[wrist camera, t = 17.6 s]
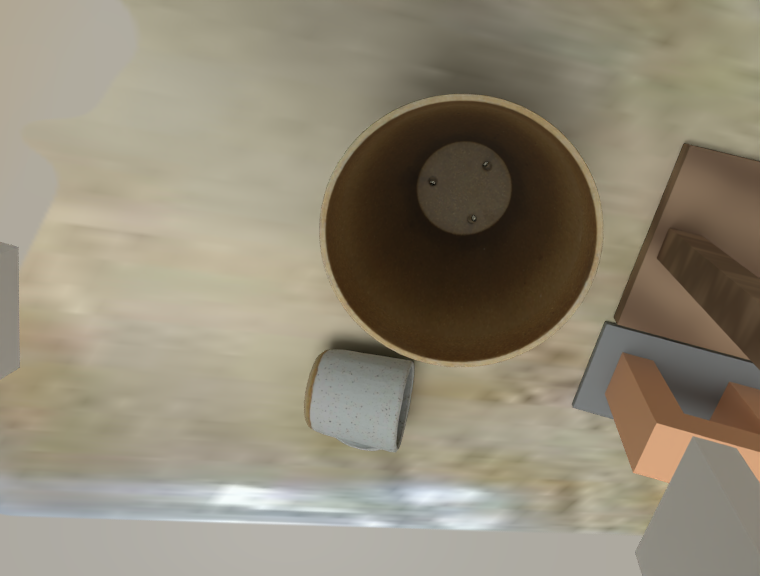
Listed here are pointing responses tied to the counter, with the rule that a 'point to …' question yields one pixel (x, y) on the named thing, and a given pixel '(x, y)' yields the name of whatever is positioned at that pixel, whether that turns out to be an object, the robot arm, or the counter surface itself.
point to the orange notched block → (676, 420)
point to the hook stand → (702, 258)
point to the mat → (664, 370)
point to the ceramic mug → (359, 398)
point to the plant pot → (461, 230)
